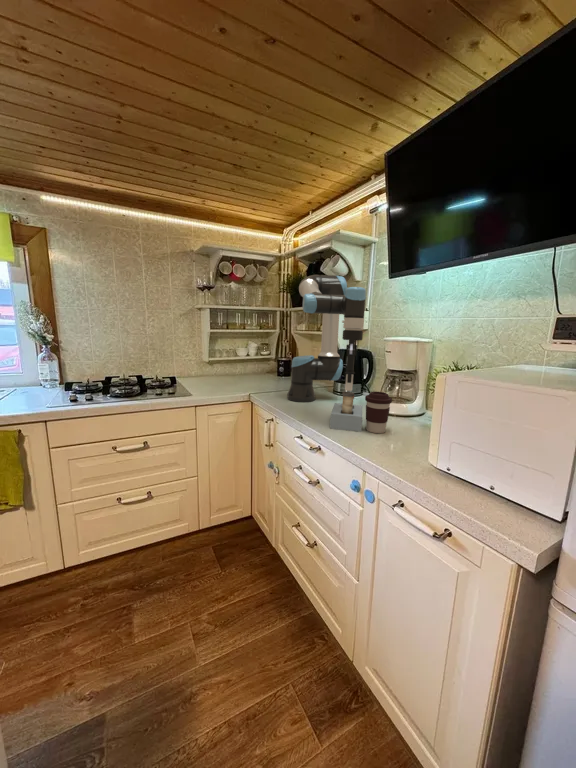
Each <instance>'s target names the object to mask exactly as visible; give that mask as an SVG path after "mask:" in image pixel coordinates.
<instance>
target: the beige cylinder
mask: <svg viewBox="0 0 576 768" xmlns="http://www.w3.org/2000/svg"><path fill="white" fill-rule="evenodd" d="M341 394H342V403H341V404H342V414H352V407H353V405H354V399H353V396H354V397H355V392H353V391H346V390H345V391H342V393H341Z"/></svg>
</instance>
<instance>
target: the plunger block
mask: <svg viewBox="0 0 576 768" xmlns="http://www.w3.org/2000/svg"><path fill="white" fill-rule="evenodd" d="M329 421H330V422H329V429H330V430H331V429H333V430H340V431H341V430H342V431H348V432H349V431H351V432H358V433H359V432H360V433H361V432H362V425H363V405H362V404H361V405H360V404H353V409H352V414H342V403H337V402H334V404H333V406H332V410H331V413H330V420H329Z"/></svg>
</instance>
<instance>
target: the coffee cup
mask: <svg viewBox="0 0 576 768" xmlns="http://www.w3.org/2000/svg"><path fill="white" fill-rule="evenodd" d="M364 400H365V401H366V405H365V423H366V424H365V429H366V431H367V432H369V433H374V434H384V433H385V432H386V428H387V423H388V420H389V414H390V408H391V407H390V404H392V402H393V399H392V397H391V396H389V394H388V393H386V392H385V391H384V392H383V391H370V392H369V394H367V395H365V398H364Z"/></svg>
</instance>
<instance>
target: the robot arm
mask: <svg viewBox="0 0 576 768" xmlns="http://www.w3.org/2000/svg"><path fill="white" fill-rule="evenodd" d="M366 291H367V290H366V288H365V287H362V286H349V287H348V283H347V279H346V278H345V277H344V276H341V275H329V274H328V275H327V274H325V275H324V274H312V275H309V276H306V277H304V278H303V279H302V280H301V281H300V282H299V286H298V292H299V295H300V297H302V311H303V312H304V313H307V314H322V320H321V321H322V325H321V326H322V327H321V345H320V346H321V348H320V352H319V353H318V354H317V358H315V356H314V355H309V354H308V355H299V356H294V357H293V358H292V360H291V375H290V377H291V379H290V386H289V389H288V392H287V397H286V398H287V400H289V401H291V402H296V403H297V402H298V403H305V402H306V403H309V402H314V401H315V400H316V393H315V389H314V385H313V383H314V382H313V381H329V382H331V381H339V379H341V376H342V372H343V369H344V362H343V361H344V360H343V359H342V358H341V357H340V354H339V353H338V345H339V326H340V315H343V320H341V323H343V325H342V327H343V330H342V340H344V341H348V344H346V346H345V347H346V348H345V350H346V357H347V358H346V371H345V372H344V375H345V387H344V388H345V389H344V391H345V392H346V391H347V392H353V384H354V374H356V372H355V369H354V368H355V367H354V366H355V357H356V355H357V349H358V345H357V344H356V341H362V340H363V337H364V336H363V335H364V332H363V329H364V326H365V324H364V323H365V310H366V300H367V292H366Z"/></svg>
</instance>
